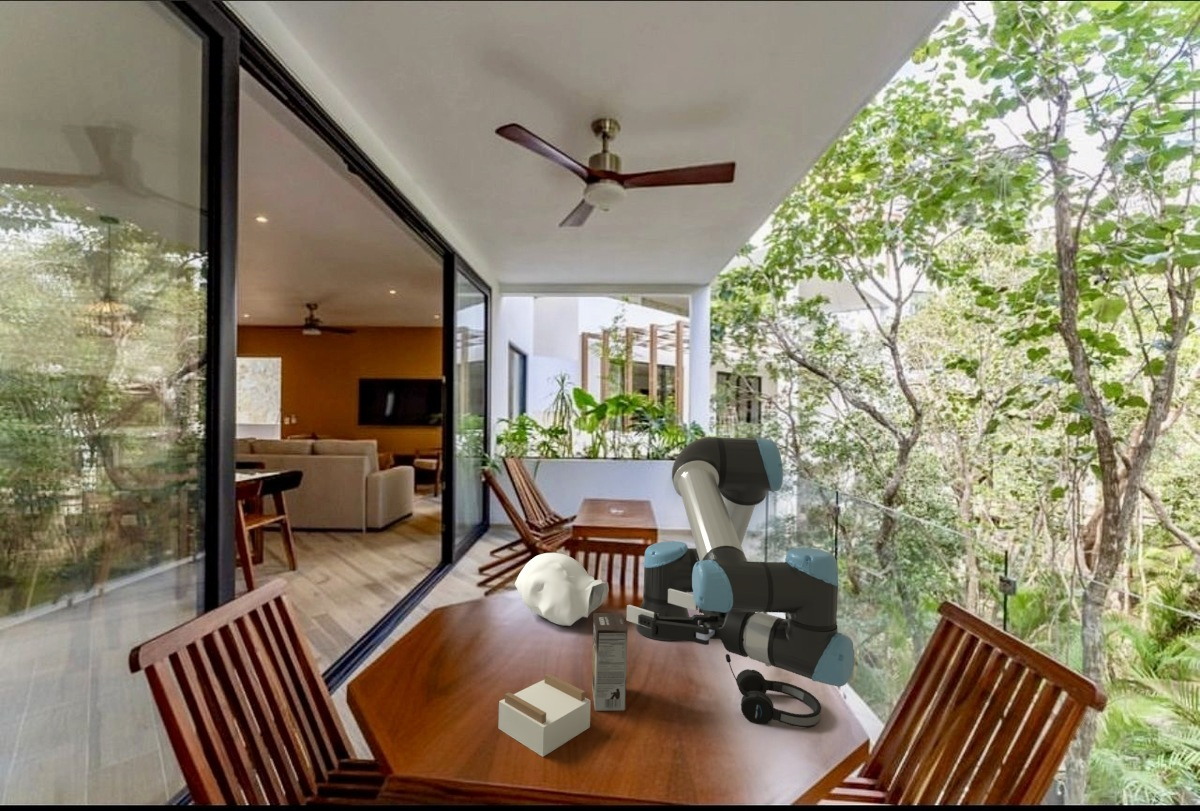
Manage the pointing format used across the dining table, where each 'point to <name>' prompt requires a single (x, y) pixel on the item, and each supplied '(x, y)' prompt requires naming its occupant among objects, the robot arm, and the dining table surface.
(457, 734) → the dining table surface
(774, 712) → the headset
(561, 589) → the head sculpture
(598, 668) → the coffee box
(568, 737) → the plinth
